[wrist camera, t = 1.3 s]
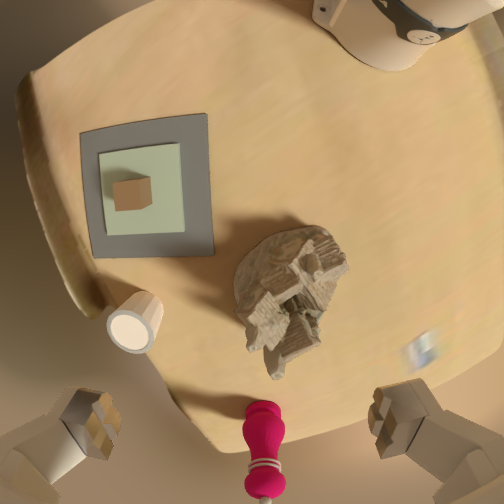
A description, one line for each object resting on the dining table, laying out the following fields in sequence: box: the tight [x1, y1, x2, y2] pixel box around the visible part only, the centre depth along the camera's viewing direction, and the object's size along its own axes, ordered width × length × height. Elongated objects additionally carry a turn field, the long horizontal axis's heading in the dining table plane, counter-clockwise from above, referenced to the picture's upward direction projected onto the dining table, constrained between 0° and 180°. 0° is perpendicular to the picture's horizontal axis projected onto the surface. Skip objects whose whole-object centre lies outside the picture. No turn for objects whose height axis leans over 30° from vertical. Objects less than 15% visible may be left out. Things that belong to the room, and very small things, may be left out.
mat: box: [80, 114, 214, 259], centre depth 36 cm, size 18×18×1 cm
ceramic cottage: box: [233, 226, 349, 380], centre depth 34 cm, size 16×16×15 cm
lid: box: [99, 143, 185, 235], centre depth 33 cm, size 11×11×5 cm
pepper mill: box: [242, 401, 286, 504], centre depth 38 cm, size 7×7×20 cm
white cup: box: [107, 291, 164, 354], centre depth 38 cm, size 7×7×7 cm
